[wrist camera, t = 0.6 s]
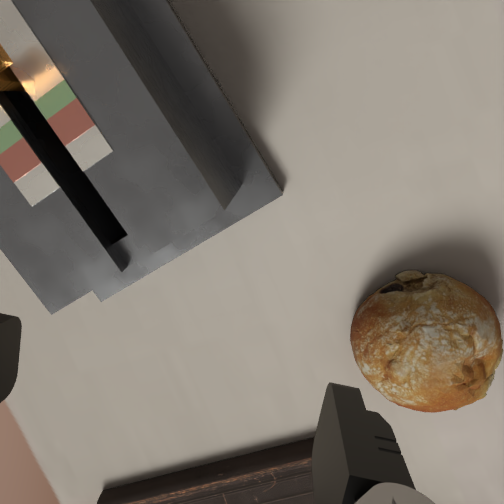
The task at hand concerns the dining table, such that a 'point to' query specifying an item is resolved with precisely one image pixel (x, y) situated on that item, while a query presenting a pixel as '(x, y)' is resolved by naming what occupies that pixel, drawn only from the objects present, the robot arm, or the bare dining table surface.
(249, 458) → the hardcover book
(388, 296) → the bread roll
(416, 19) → the dining table surface
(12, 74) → the gauge plunger
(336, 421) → the robot arm
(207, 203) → the gauge housing
